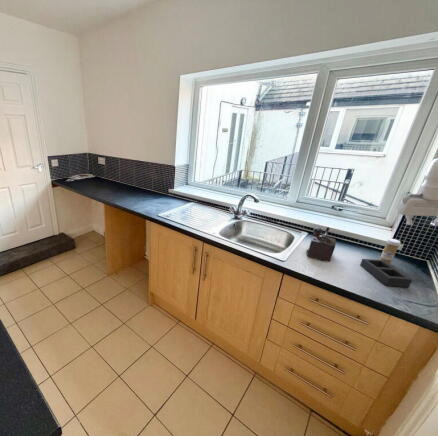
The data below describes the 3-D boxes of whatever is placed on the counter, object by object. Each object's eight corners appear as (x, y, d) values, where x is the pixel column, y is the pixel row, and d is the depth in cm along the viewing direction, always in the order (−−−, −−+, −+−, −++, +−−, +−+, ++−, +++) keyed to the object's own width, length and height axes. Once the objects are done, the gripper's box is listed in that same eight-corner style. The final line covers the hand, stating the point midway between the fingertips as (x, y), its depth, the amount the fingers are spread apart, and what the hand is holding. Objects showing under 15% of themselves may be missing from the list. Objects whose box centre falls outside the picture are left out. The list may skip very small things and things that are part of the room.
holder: (379, 267, 120) (382, 260, 118) (408, 287, 104) (412, 279, 103) (359, 265, 121) (362, 258, 119) (385, 285, 105) (389, 277, 104)
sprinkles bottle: (379, 264, 122) (389, 241, 116) (376, 260, 125) (386, 237, 120) (391, 267, 120) (402, 243, 114) (388, 262, 123) (398, 239, 118)
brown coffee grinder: (307, 248, 137) (316, 218, 130) (331, 254, 131) (341, 223, 124) (303, 259, 125) (312, 228, 118) (329, 267, 119) (340, 234, 112)
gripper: (412, 195, 100) (400, 226, 105) (469, 196, 97) (455, 228, 102) (399, 191, 106) (389, 221, 111) (453, 193, 103) (440, 223, 108)
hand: (421, 225), depth 106 cm, fingers open, 8 cm apart
